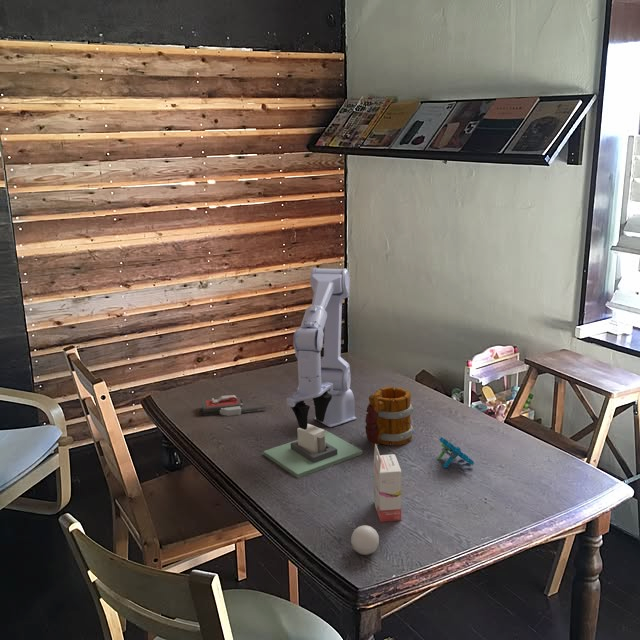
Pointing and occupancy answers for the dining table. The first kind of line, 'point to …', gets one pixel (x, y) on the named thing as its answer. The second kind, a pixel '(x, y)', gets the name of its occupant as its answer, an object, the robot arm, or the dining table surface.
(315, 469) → the board
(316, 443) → the plug
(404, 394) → the mug
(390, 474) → the ink cartridge box
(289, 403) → the robot arm
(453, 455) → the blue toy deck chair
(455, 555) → the dining table surface
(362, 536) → the white egg
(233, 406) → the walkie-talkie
